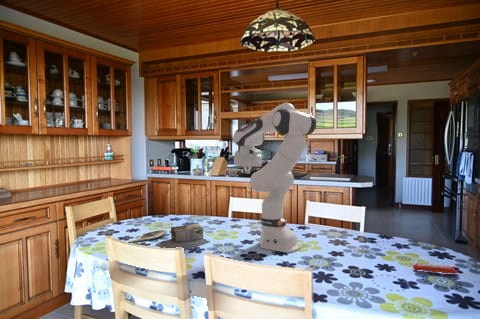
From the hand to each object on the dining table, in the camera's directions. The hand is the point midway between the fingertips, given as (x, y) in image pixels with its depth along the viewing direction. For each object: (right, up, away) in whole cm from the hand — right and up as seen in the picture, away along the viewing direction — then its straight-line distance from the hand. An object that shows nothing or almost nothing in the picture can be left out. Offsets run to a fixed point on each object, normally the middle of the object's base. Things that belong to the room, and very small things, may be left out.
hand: (247, 173), depth 197 cm
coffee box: (-26, -32, -17) cm, 45 cm away
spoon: (-60, -37, -23) cm, 74 cm away
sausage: (+75, -38, -67) cm, 107 cm away
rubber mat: (-35, -36, -28) cm, 57 cm away
